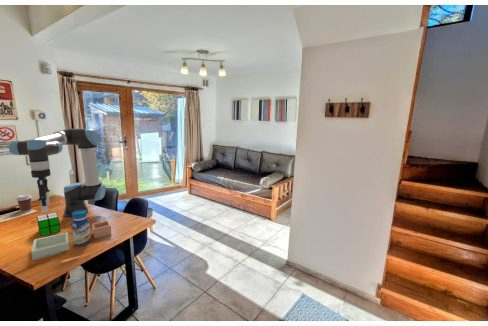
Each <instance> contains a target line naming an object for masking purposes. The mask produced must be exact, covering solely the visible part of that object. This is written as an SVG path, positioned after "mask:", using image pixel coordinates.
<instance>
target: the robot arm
mask: <svg viewBox="0 0 488 326" xmlns="http://www.w3.org/2000/svg"><path fill="white" fill-rule="evenodd" d="M100 142H101V139H100V135H99V132H98V131H97V130H95V129H94V128H66V129H62V130H58V131H54V132H53V133H51V134H48V135H44V136H39V137H36V138H31V139H28V140H27V139H26V140H20V141H19V140H15V141H11V142H10V143H9V145H8V150H9V151H8V152H10V154H11V155H13V156H14V155H15V156H28V159H29V163H28V166H30V170H31V171H30V173H31V177H32V178H35V179H37V180H36V184H37V188H38V199H37V201H38V202H39V203H40V209H41V213H46V212H49V204H51V202H50V200H51V199H50V195H49V194H50V193H49V192H50V191H51V190H50V189H49V187H48V178H46V177H50V176H51V175H52V174H51V169H50V160H49V156H53V155H58V154H59V153H62V151H63V146H65V145H66V146H77V149H78V150H80V155H81V160H82V167H83V173H84V181H85V182H84V183H83V182H75V183H70V184H67V185H65V186H64V187H63V194H64V195H63V196H64V202H65V207H64V210H63V217H65V218H72V213H73V212H74V211H77V210H86V213H87V214H88V213H89V208H88V206H87V204H86V203H85V201H99V200H102V199H103V198H104V197H105V195H106V190H107V189H106V185H105V184H103V183H102V181H101V180H100V177H99V171H98V163H97V156H96V155H97V153H96V149H97V148H98V145H99V144H100Z"/></svg>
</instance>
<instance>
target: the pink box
mask: <svg viewBox="0 0 488 326" xmlns="http://www.w3.org/2000/svg"><path fill="white" fill-rule="evenodd" d="M91 226H92V228H91V229H92V234H93V238H94V239H99V238H103V237H105V236H109V235H110V236H111V235H112V227H111V226H112V225H111V223H110V220H109V219H108V220H103V221H100V222H93V223H92V224H91Z"/></svg>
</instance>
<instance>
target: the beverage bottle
mask: <svg viewBox="0 0 488 326" xmlns="http://www.w3.org/2000/svg"><path fill="white" fill-rule="evenodd" d="M87 214H88V213H86V210H77V211H74V212H73V213H72V217H71V219H72V222H71V232H72V239H73V245H74V247H84V246H86V245H89V244H90V243H91V242H92V240H91V230H90V227H91V225H90V220H89V219H88V217H87Z"/></svg>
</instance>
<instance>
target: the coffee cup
mask: <svg viewBox="0 0 488 326" xmlns="http://www.w3.org/2000/svg"><path fill="white" fill-rule="evenodd" d="M32 198H33V196H32V195H30V194H28V193H25V194H20V195H18V196H17V198H16V199H15V201H17V204H18V208H19V211H20V213H21V212H22V213H26V212H29V211H32V210H33V209H32Z"/></svg>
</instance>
